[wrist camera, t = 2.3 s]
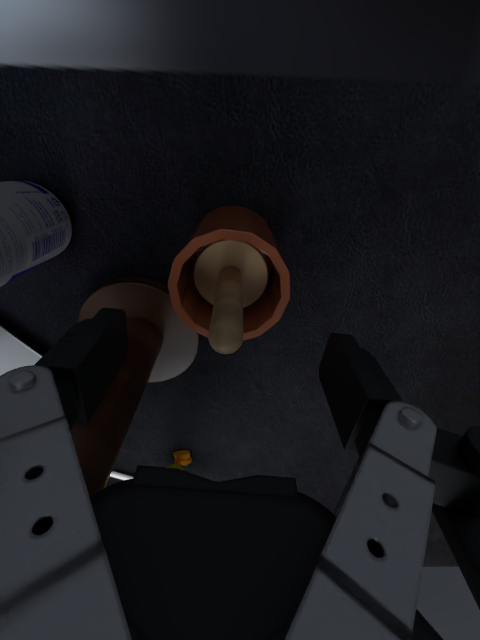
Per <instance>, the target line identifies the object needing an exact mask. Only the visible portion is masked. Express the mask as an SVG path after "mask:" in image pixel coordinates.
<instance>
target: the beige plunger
mask: <svg viewBox="0 0 480 640" xmlns="http://www.w3.org/2000/svg"><path fill="white" fill-rule="evenodd" d="M267 279H268V271H267V266H266V255H265V253H263V252H262V251H260V250H259V249H257V248H256V247H254V246H253V245H251V244H250V243H248V242H240V241H232V240H224V239H222V240H219V241H216V242H213V243H210V244H207V245H205V246H202V247H200V250H199V255H198V258H197V261H196V263H195V267H194V282H195V285H196V287H197V289H198V291H199V293H200V294H201V295H202V297H203V298H204V299H205V300H206V301H208V302H209V303H210V304H212V305H214V306H213V312H212V317H211V323H210V328H209V334H208V339H209V343H210V345H211V347H212V348H213V349H214V350H215V351H216V352H218V353H221V354H231V353H233V352H235V351H236V350H238V349H239V348H240V346H241V344H242V342H243V308H244V307H246V306H248V305H250V304H252V303H253V302H255V301H256V300H257V299H258V298H259V297H260V296H261V294H262V293H263V291H264V289H265V287H266V284H267Z"/></svg>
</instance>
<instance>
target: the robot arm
mask: <svg viewBox="0 0 480 640" xmlns="http://www.w3.org/2000/svg"><path fill="white" fill-rule="evenodd" d="M127 353H128V332H127V320H126V312H125V310H123V309H115V308H106V307H103V308H101V309H100V310H99V311H98V312H97V314H96V315H95V316H94V317H93V318H92V319H85V320H83V321H81V322H79V323H77V324H75V325H73V326H72V327H71V328H70V329H69V330H68V331H67V332H66V335H63V337H62V338H61V339H60V340H59V342H57V343H56V344H55V345H54V346H53V347H52V348H51V349H50V350H49V351H48V352H47V353H46V354H45V355H44V356H43V357H42V358H41V359H40V360H39V361H38V362H37V363H36V364H35V365H34V366H24V367H20V368H17V369H14V370H11V371H9V372H7V373H5V374H3V375H1V376H0V640H443V639H442V638H441V636H440V635H439V634H438V633H437V632H436V631H435V630H434V628H433V627H432V626H431V625H430V624H429V623H428V621H427V620H426V619H425V618H424V617H423V616H422V615H421V613H420V612H419V611H418V610H417V609H416V605H417V599H418V593H419V587H420V581H421V574H422V567H423V562H424V555H425V549H426V543H427V536H428V530H429V524H430V517H431V511H432V512H433V514H434V516H435V518H436V520H437V522H438V524H439V526H440V528H441V530H442V532H443V535H444V537H445V539H446V541H447V543H448V545H449V547H450V549H451V551H452V553H453V555H454V557H455V560H456V562H457V564H458V566H459V568H460V570H461V572H462V574H463V576H464V578H465V580H466V582H467V584H468V587H469V589H470V591H471V593H472V595H473V597H474V599H475V601H476V603H477V605H478V607H479V609H480V426H474V427H470V428H469V429H468V430H467V432H466V433H465V434H464V436H460V435H457V434H454V433H451V432H448V431H445V430H442V429H439V428H436V425H435V423H434V422H433V420H432V419H431V418H430V417H429V416H428V415H427V414H426V413H425V412H424V411H422V410H421V409H419V408H418V407H416V406H414V405H412V404H409V403H407V402H403V400H402V399H401V397H400V396H399V394H398V393H397V391H396V390H395V388H394V387H393V385H392V384H391V382H390V381H389V379H388V377H387V376H385V373H384V371H383V370H382V368H380V365H379V364H378V362H377V361H376V359H375V358H374V357H373V356H372V355H371V354H370V353H369V352H367V351H366V350H365V349H363V348H360V347H359V345H358V344H357V342H356V340H355V339H354V337H353V336H352V335H348V334H339V333H331V334H330V336H329V338H328V341H327V344H326V347H325V351H324V354H323V357H322V360H321V363H320V367H319V377H320V381H321V384H322V387H323V390H324V393H325V395H326V398H327V401H328V404H329V407H330V410H331V413H332V416H333V419H334V422H335V424H336V427H337V430H338V433H339V436H340V439H341V442H342V445H343V448H344V450H354V451H358V454H359V458H358V460H357V462H356V464H355V466H354V469H353V471H352V473H351V475H350V477H349V480H348V482H347V484H346V486H345V488H344V490H343V493H342V495H341V497H340V499H339V501H338V503H337V505H336V508H335V510H334V512H333V513H332V512H330V511H329V510H328V509H327V508H326V507H324V506H323V505H322V504H320V503H319V502H317V501H316V500H314V499H313V498H311V497H309V496H307V495H305V494H303V493H300V492H297V486H296V479H295V478H288V477H276V476H263V475H255V476H249V477H244V478H238V479H233V480H227V481H222V482H215V481H211V480H209V479H206V478H203V477H200V476H197V475H194V474H191V473H189V472H186V471H183V470H180V469H177V468H164V467H152V466H140V465H138V466H137V469H136V472H135V475H134V478H133V479H129V480H125V481H121V482H118V483H115V484H113V485H110V486H108V487H106V488H104V489H102V490H100V491H98V492H96V493H95V494H93V495H92V496H90V497H89V494H88V491H87V488H86V484H85V481H84V477H83V474H82V471H81V467H80V464H79V460H78V457H77V453H76V450H75V447H74V443H73V440H72V436H71V433H70V430H71V428H72V426H73V425H78V426H87V425H88V424H89V422H90V420H91V418H92V417H93V415H94V413H95V411H96V410H97V408H98V406H99V404H100V403H101V401H102V399H103V397H104V396H105V394H106V392H107V390H108V389H109V387H110V385H111V383H112V382H113V380H114V378H115V376H116V375H117V373H118V371H119V369H120V368H121V366H122V364H123V362H124V361H125V359H126V356H127Z"/></svg>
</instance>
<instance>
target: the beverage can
mask: <svg viewBox="0 0 480 640" xmlns="http://www.w3.org/2000/svg"><path fill="white" fill-rule="evenodd" d="M71 235H72V226H71V221H70V218H69V215H68V213H67V211H66V209H65V208H64V206H63V205H62V203H61V202H60V201H59V200H58V199H57V198H56V196H54V195H53V194H52V193H51V192H50V191H48V190H47V189H45V188H43V187H42V186H40V185H37V184H35V183H32V182H28V181H5V182H0V287H1V286H3V285H4V284H6V283H8V282H10V281H12V280H13V279H15V278H17V277H19V276H21V275H22V274H24V273H26V272H28V271H29V270H31V269H33V268H35V267H37V266H38V265H40V264H42V263H44V262H46V261H47V260H49V259H51V258H53V257H55V256H56V255H58V254H59V253H61V252H62V251H63V250H64V249H66V247H67V246H68V244H69V242H70V239H71Z"/></svg>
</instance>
